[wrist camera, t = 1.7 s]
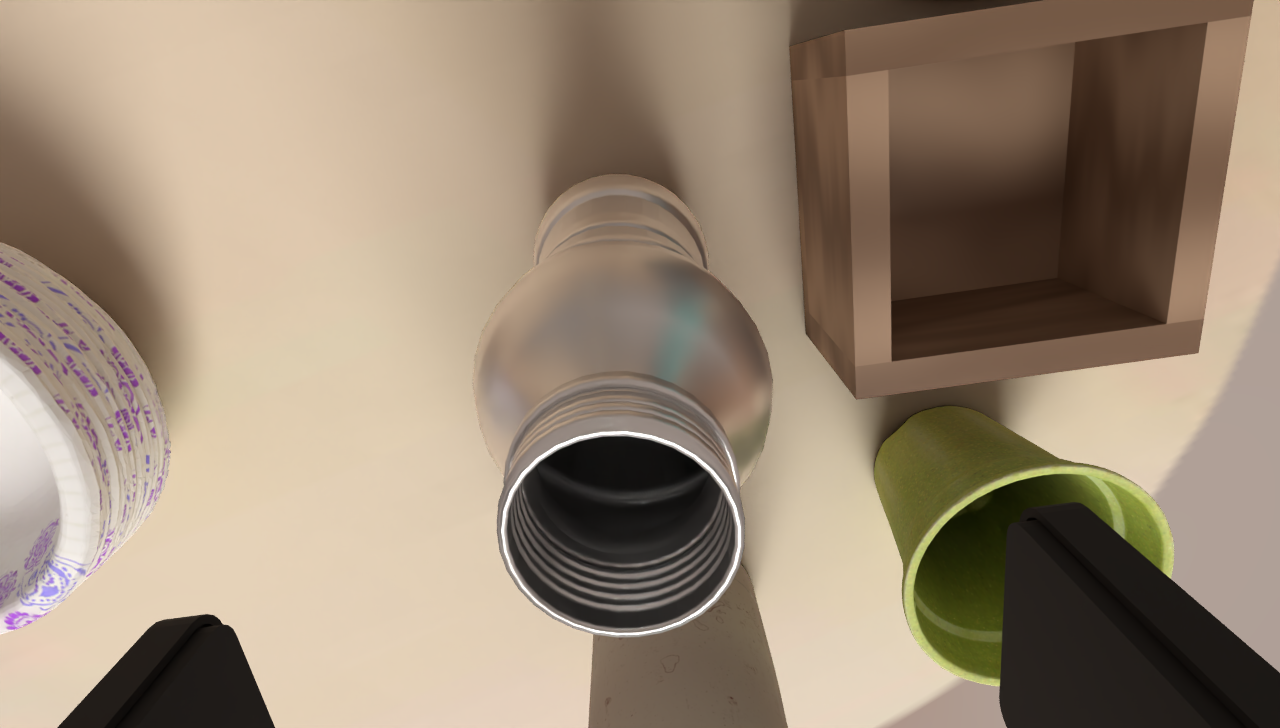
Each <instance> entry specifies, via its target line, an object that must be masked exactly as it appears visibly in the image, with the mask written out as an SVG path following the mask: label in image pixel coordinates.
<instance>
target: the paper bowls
mask: <svg viewBox="0 0 1280 728" xmlns="http://www.w3.org/2000/svg"><path fill="white" fill-rule="evenodd" d="M170 446H171V442H170V440H169V434H168V429H167V424H166V416H165V412H164V408H163V405H162V402H161V400H160V397H159V395H158V392H157V388H156V384H155V383H154V381H153V379H152V377H151V375H150V373H149V370H148V367H147V366H146V364H145V363H144V361H143V360H142V358H141V356H140V355H139V353H138V351H137V350H136V348H135V347H134V345H133V344H132V342H131V341H130V340H129V338H128V337H127V336H126V334H125V333H124V332H123V330H122V329H121V328H120V327H119V326H118V325H117V324H116V323H115V321H114V320H113V319H112V318H111V317H110V316H109V315H108V314H107V313H106V312H105V311H104V310H103V309H102V308H101V307H100V306H99V305H97V304H96V303H95V302H94V301H92V300H91V299H90V298H89V297H88V296H86V295H85V294H84V293H83V292H82V291H81V290H80V289H79V288H77V287H76V286H75V285H73V284H72V283H71V282H69V281H68V280H67V279H65V278H64V277H62V276H61V275H59V274H58V273H56V272H54V271H53V270H52V269H50V268H49V267H47V266H46V265H44V264H43V263H41V262H40V261H38V260H37V259H35V258H33V257H31V256H29V255H28V254H26V253H24V252H23V251H21V250H19V249H16V248H14V247H12V246H9V245H7V244H5V243H2V242H0V634H4V633H7V632H10V631H13V630H16V629H18V628H21V627H23V626H26V625H28V624H30V623H32V622H34V621H36V620H38V619H39V618H41V617H43V616H45V615H47V614H48V613H49V612H50V611H51V610H53V609H55V608H56V607H57V606H58V605H59V604H61V603H62V602H63V601H64V600H65V599H66V598H67V597H68V596H69V595H70V594H71V593H72V592H73V591H74V590H75V589H76V588H77V587H78V586H79V585H81V584H82V583H83V582H84V581H85V580H86V579H87V578H89V577H90V576H91V575H92V574H93V573H94V572H95V571H96V570H97V569H99V568H100V566H102V565H103V564H104V563H105V562H106V561H107V560H108V559H109V558H110V557H111V556H112V555H113V554H114V553H115V552H116V551H118V550H119V549H120V548H121V547H122V546H123V544H124V543H125V542H126V541H127V540H129V538H130V537H131V536H132V535H133V534H134V533H135V532H136V531H137V530H138V528H139V527H140V526H141V525H142V523H143V522H144V521H145V520H146V519H147V517H148V516H149V515H150V514H151V512H152V511H153V510H154V507H155V505H156V503H157V502H158V500H159V498H160V494H161V492H162V491H163V489H164V486H165V481H166V478H167V476H168V467H169V461H170V460H169V459H170V453H171V451H170V450H169V449H170Z"/></svg>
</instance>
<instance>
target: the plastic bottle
mask: <svg viewBox="0 0 1280 728" xmlns="http://www.w3.org/2000/svg"><path fill="white" fill-rule="evenodd" d="M533 260H534V268H532V269H531V270H529V271H528V272H527V273H525V274H524V275H523V276H522V277H521V278H520V279H519V280H518V281H517V283H516V284H515V285H514V286H513V287H512V288H511V289H510V290H509V291H508V293H507V294H506V295H505V296H504V297H503V298H502V300H501V301H500V302H499V303H498V304H497V305H496V307H495V309H494V311H493V312H492V314H491V316H490V318H489V319H488V321H487V323H486V325H485V327H484V328H483V330H482V334H481V337H480V341H479V344H478V347H477V351H476V354H475V359H474V373H473V390H474V397H475V403H476V410H477V415H478V420H479V424H480V428H481V431H482V434H483V437H484V440H485V442H486V445H487V448H488V450H489V453H490V455H491V457H492V458H493V460H494V462H495V463H496V465H497V466H498V468H499V470H500V471H501V473H502V475H503V476H504V487H503V490H502V493H501V496H500V499H499V504H498V515H497V536H498V543H499V550H500V553H501V556H502V559H503V561H504V564H505V567H506V569H507V572H508V573H509V575H510V576H511V578H512V579H513V581H514V582H515V584H516V586H517V587H518V589H519V590H520V591H521V592H522V593H523V594H524V595H525V596H526V597H527V598H528V599H529V600H530V601H531V602H532V603H533V604H534V605H535V606H536V607H538V608H539V609H540V610H542V611H543V612H545V613H546V614H547V615H549V616H550V617H552V618H553V619H555V620H557V621H559V622H562V623H564V624H566V625H568V626H570V627H572V628H575V629H578V630H581V631H585V632H588V633H591V634H595V635H603V636H610V637H642V636H648V635H653V634H658V633H663V632H666V631H668V630H671V629H674V628H677V627H680V626H682V625H684V624H686V623H688V622H690V621H691V620H693V619H695V618H697V617H698V616H700V615H702V614H703V613H704V612H705V611H706V610H708V609H709V608H710V607H711V606H712V605H713V604H715V603H716V602H717V601H718V600H719V599H720V597H721V596H722V595H723V594H724V592H725V591H726V590H727V588H728V587H729V586H730V585H731V583H732V581H733V579H734V577H735V575H736V572H737V570H738V568H739V566H740V562H741V558H742V554H743V550H744V539H745V517H744V513H743V508H742V504H741V499H740V487H741V486H742V485H743V483H744V482H745V481H746V479H747V478H748V477H749V475H750V474H751V473H752V471H753V469H754V467H755V465H756V463H757V461H758V458H759V456H760V454H761V452H762V450H763V447H764V443H765V438H766V434H767V430H768V426H769V421H770V415H771V410H772V390H773V379H772V373H771V368H770V363H769V358H768V352H767V350H766V348H765V345H764V343H763V341H762V338H761V336H760V333H759V331H758V329H757V326H756V325H755V323H754V322H753V320H752V319H751V317H750V316H749V315H748V313H747V312H746V310H745V309H744V307H743V306H742V304H741V303H740V302H739V301H738V300H737V298H736V297H735V296H734V295H733V294H732V292H731V291H730V290H729V289H727V288H726V287H725V286H724V285H723V284H722V283H721V282H720V281H719V280H718V279H717V278H716V277H715V276H714V275H713V274H712V273H711V272H709V270H708V251H707V246H706V242H705V238H704V235H703V233H702V230H701V228H700V226H699V223H698V221H697V220H696V218H695V217H694V216H693V214H692V213H691V211H690V210H689V208H688V207H687V206H686V205H685V204H684V203H683V202H682V201H681V200H680V199H679V198H678V197H677V196H676V195H675V194H674V193H672V192H671V191H669V190H668V189H666V188H664V187H663V186H661V185H660V184H658V183H655V182H653V181H650V180H648V179H645V178H643V177H638V176H633V175H628V174H606V175H601V176H597V177H592V178H589V179H587V180H584V181H582V182H580V183H578V184H576V185H574V186H572V187H571V188H570V189H568V190H567V191H565V192H564V193H563V194H561V195H560V196H559V197H558V198H557V199H556V201H555V202H554V203H553V204H552V205H551V206H550V207H549V209H548V210H547V212H546V214H545V216H544V217H543V219H542V221H541V223H540V225H539V229H538V232H537V235H536V238H535V245H534V255H533Z"/></svg>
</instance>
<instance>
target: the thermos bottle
mask: <svg viewBox="0 0 1280 728" xmlns="http://www.w3.org/2000/svg"><path fill="white" fill-rule="evenodd" d="M588 728H788V726H787V722H786V718H785V713H784V708H783V703H782V698H781V694H780V690H779V685H778V681H777V677H776V673H775V669H774V665H773V661H772V657H771V653H770V650H769V646H768V642H767V638H766V635H765V631H764V627H763V623H762V619H761V616H760V612H759V608H758V604H757V601H756V597H755V593H754V589H753V585H752V582H751V580H750V578H749V576H748V574H747V572H746V570H745V569H744V568H743V566H742V565H741V564H740V566H739V568H738V570H737V572H736V575H735V577H734V579H733V581H732V583H731V585H730V586H729V587H728V588H727V590H726V591H725V592H724V594H723V595H722V596H721V597H720V599H719V600H718V601H717V602H716V603H715V604H713V605H712V606H711V607H710V608H709V609H708V610H706V611H705V612H704V613H703V614H702V615H700V616H698V617H697V618H695V619H693V620H691V621H690V622H688V623H686V624H684V625H682V626H680V627H677V628H674V629H671V630H668V631H666V632H663V633H658V634H653V635H648V636H642V637H610V636H603V635H595V634H593V654H592V673H591V690H590V708H589V727H588Z"/></svg>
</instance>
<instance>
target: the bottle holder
mask: <svg viewBox="0 0 1280 728" xmlns="http://www.w3.org/2000/svg"><path fill="white" fill-rule="evenodd" d="M1253 1H1254V0H1042V1H1035V2H1028V3H1022V4H1015V5H1009V6H1002V7H995V8H989V9H982V10H975V11H969V12H962V13H956V14H949V15H942V16H936V17H929V18H922V19H916V20H909V21H902V22H896V23H889V24H883V25H876V26H869V27H863V28H856V29H849V30H844V31H840V32H837V33H833V34H830V35H827V36H823V37H820V38H816V39H813V40H809V41H806V42H803V43H799V44H796V45H792V46H789V48H790V65H791V83H792V100H793V118H794V135H795V152H796V170H797V187H798V205H799V222H800V240H801V257H802V274H803V292H804V309H805V327H806V335H807V336H808V337H809V338H810V340H811V341H812V342H813V344H814V345H815V346H816V348H817V349H818V350H819V351H820V353H821V354H822V355H823V357H824V358H825V359H826V361H827V362H828V363H829V365H830V366H831V367H832V368H833V370H834V371H835V372H836V374H837V375H838V376H839V378H840V379H841V380H842V381H843V383H844V384H845V385H846V387H847V388H848V389H849V391H850V392H851V393H852V395H853V396H854V397H855V398H856V400H857V399H864V398H871V397H879V396H886V395H893V394H901V393H908V392H915V391H923V390H930V389H938V388H945V387H952V386H960V385H967V384H974V383H982V382H989V381H996V380H1004V379H1011V378H1019V377H1026V376H1033V375H1041V374H1048V373H1055V372H1063V371H1070V370H1077V369H1085V368H1092V367H1099V366H1107V365H1114V364H1122V363H1129V362H1136V361H1144V360H1151V359H1158V358H1166V357H1173V356H1180V355H1188V354H1195V353H1198V352H1199V346H1200V340H1201V333H1202V327H1203V321H1204V314H1205V308H1206V301H1207V295H1208V289H1209V282H1210V276H1211V269H1212V263H1213V257H1214V250H1215V244H1216V237H1217V231H1218V225H1219V218H1220V212H1221V205H1222V199H1223V193H1224V186H1225V180H1226V174H1227V167H1228V161H1229V154H1230V148H1231V142H1232V135H1233V129H1234V122H1235V116H1236V110H1237V103H1238V97H1239V90H1240V84H1241V78H1242V71H1243V65H1244V58H1245V52H1246V46H1247V39H1248V33H1249V27H1250V20H1251V14H1252V7H1253Z"/></svg>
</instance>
